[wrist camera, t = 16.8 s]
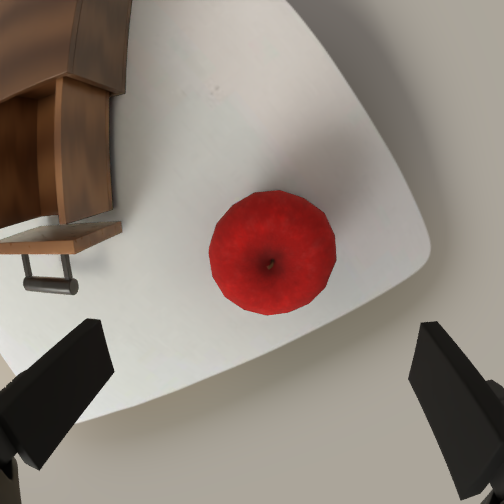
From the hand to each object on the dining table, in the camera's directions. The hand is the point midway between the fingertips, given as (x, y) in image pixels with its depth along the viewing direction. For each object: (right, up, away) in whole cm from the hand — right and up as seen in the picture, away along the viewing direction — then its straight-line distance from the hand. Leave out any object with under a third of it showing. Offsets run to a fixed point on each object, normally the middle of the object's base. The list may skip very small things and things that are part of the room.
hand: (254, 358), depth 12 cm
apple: (+2, +6, +20) cm, 20 cm away
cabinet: (-21, +30, +15) cm, 39 cm away
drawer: (-20, +12, +19) cm, 30 cm away
